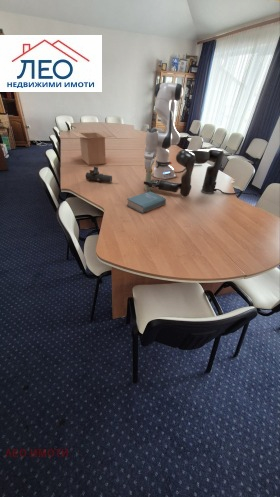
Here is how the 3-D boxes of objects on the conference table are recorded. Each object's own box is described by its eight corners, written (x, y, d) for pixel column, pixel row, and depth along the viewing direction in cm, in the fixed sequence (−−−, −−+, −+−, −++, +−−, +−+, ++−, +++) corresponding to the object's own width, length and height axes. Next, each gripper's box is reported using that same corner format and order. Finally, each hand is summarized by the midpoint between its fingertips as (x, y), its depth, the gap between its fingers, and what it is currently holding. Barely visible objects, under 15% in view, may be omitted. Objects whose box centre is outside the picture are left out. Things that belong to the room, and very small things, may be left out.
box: (116, 165, 229) (116, 136, 213) (83, 168, 214) (80, 137, 198) (102, 154, 259) (101, 128, 243) (71, 156, 244) (68, 129, 228)
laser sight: (109, 184, 185) (109, 172, 179) (84, 181, 187) (82, 169, 182) (112, 180, 192) (112, 169, 186) (88, 177, 195) (87, 166, 189)
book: (149, 197, 168) (149, 191, 165) (165, 204, 160) (166, 198, 157) (127, 205, 155) (127, 198, 152) (143, 213, 146) (143, 207, 143)
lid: (148, 173, 169) (148, 170, 168) (144, 171, 172) (144, 168, 171) (153, 172, 172) (153, 169, 171) (149, 170, 175) (149, 167, 174)
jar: (145, 188, 183) (147, 169, 173) (150, 189, 182) (152, 169, 173) (144, 190, 180) (145, 170, 170) (149, 191, 179) (151, 171, 169)
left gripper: (149, 149, 173) (147, 167, 181) (143, 156, 156) (142, 175, 165) (157, 150, 172) (155, 168, 180) (152, 157, 156) (150, 176, 164)
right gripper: (168, 178, 177) (148, 174, 181) (163, 183, 166) (142, 179, 170) (167, 187, 181) (147, 183, 185) (162, 193, 170) (141, 189, 175)
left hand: (149, 172), depth 172 cm, fingers open, 7 cm apart
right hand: (144, 181), depth 178 cm, fingers closed on jar, 4 cm apart
